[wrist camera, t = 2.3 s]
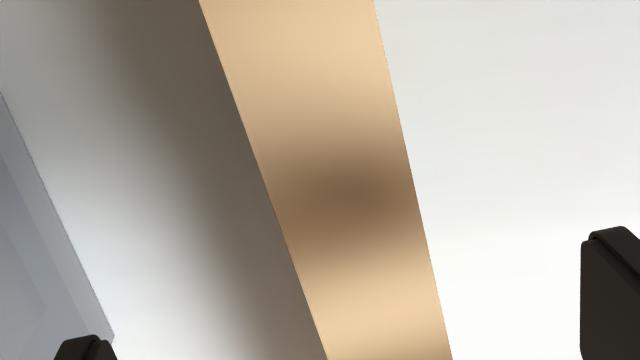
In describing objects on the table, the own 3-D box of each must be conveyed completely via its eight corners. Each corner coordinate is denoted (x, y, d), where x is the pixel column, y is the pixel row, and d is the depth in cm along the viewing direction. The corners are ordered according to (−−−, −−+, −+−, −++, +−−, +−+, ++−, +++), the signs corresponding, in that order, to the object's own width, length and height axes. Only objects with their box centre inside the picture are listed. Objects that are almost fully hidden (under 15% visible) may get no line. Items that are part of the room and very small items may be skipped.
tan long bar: (139, -289, 14) (55, -397, 9) (272, -333, 14) (269, -471, 9) (359, 378, 25) (381, 509, 20) (436, 358, 25) (480, 486, 20)
